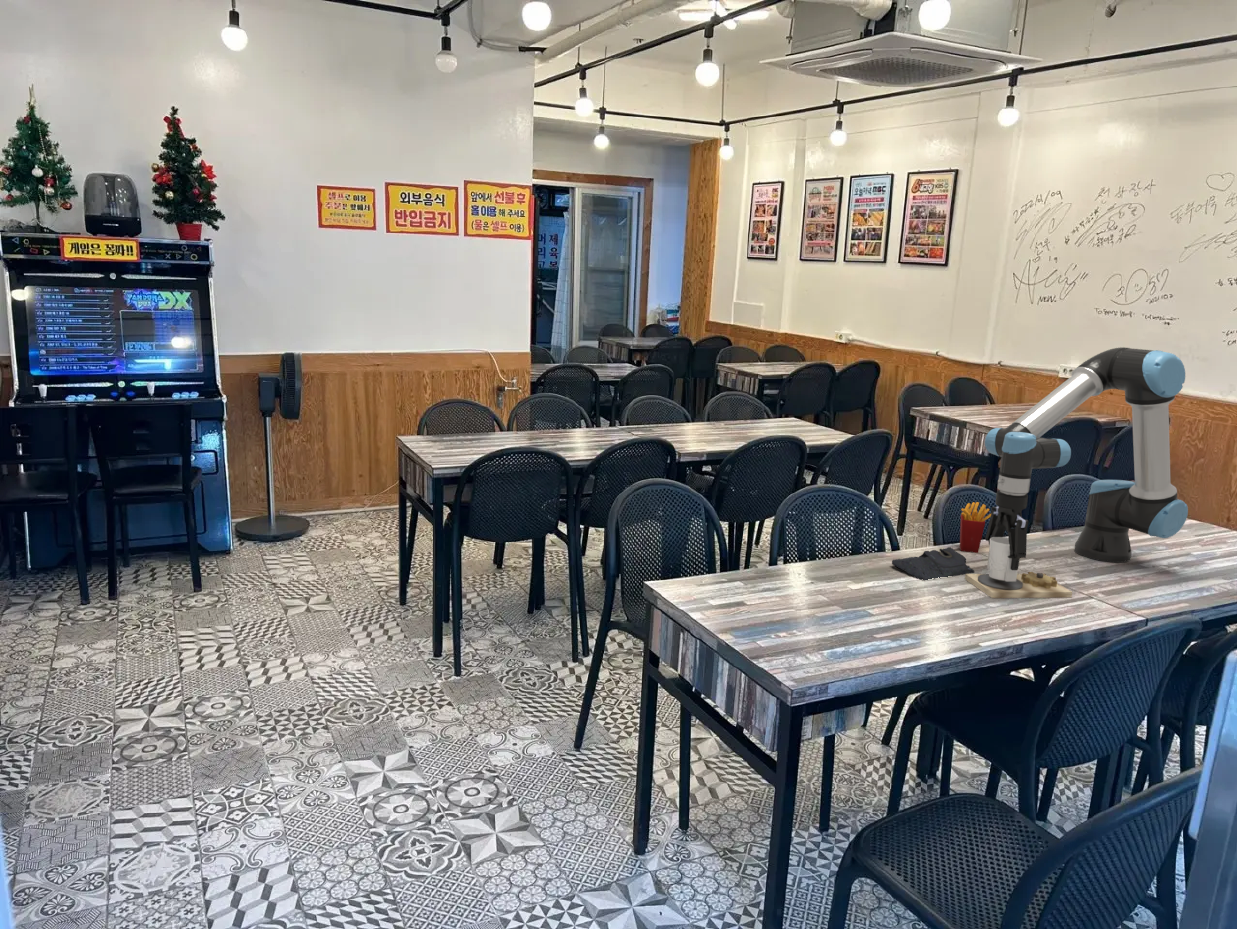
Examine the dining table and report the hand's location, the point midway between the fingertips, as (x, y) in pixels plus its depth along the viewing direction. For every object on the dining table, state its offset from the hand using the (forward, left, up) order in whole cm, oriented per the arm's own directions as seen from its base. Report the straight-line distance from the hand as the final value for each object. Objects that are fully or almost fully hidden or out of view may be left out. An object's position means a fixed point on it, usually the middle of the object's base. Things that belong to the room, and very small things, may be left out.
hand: (1001, 575), depth 231 cm
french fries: (-10, -33, -4) cm, 35 cm away
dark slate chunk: (+11, -16, -4) cm, 20 cm away
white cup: (0, +1, -1) cm, 1 cm away
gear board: (-5, 0, -4) cm, 6 cm away
